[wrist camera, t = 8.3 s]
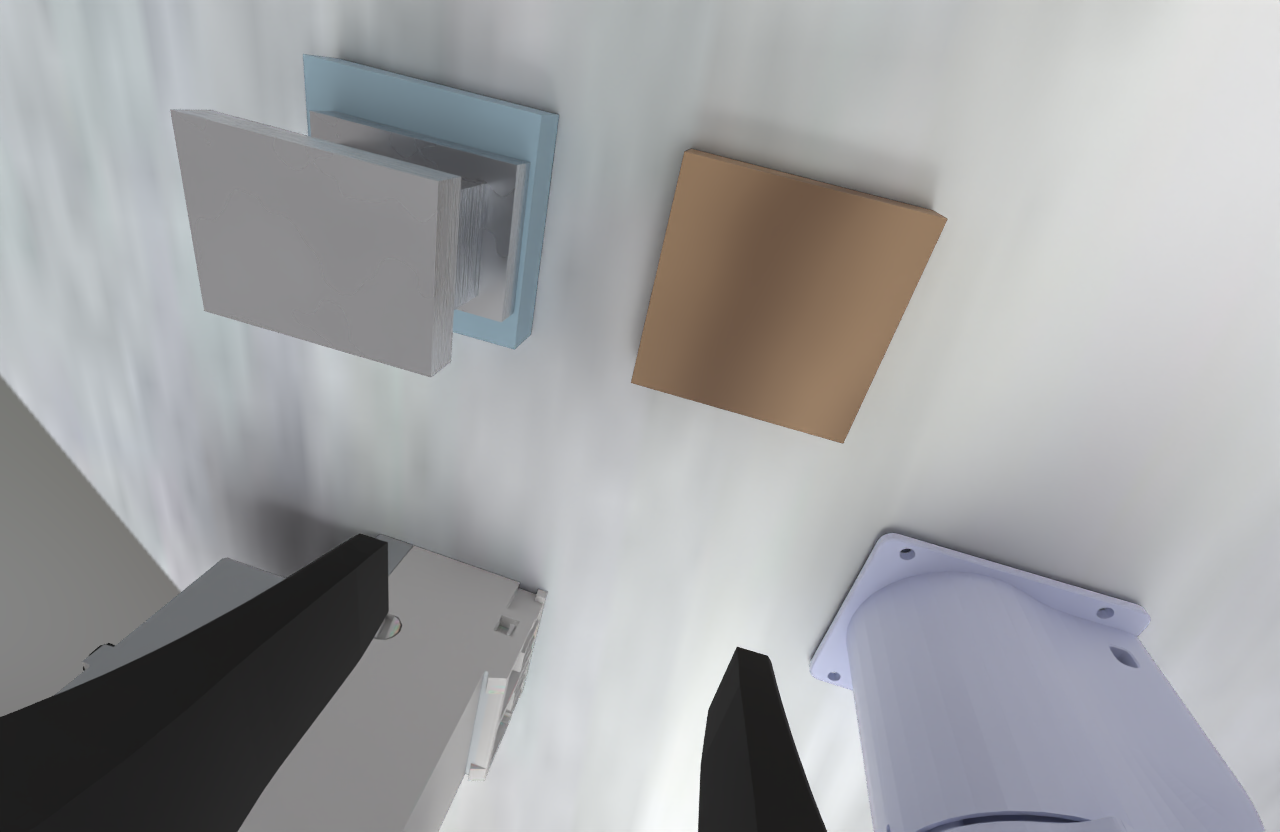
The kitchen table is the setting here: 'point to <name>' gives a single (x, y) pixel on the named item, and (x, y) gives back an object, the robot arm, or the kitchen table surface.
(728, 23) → the kitchen table surface
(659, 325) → the stand
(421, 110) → the stand
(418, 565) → the circuit breaker
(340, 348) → the i-beam
